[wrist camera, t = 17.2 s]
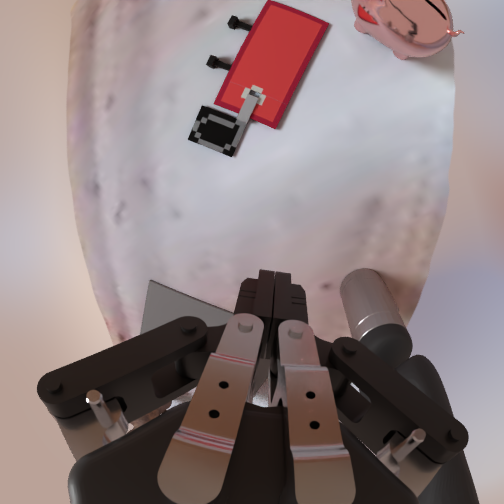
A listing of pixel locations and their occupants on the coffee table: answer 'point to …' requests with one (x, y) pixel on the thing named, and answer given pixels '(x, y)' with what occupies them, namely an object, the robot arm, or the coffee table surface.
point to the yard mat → (178, 305)
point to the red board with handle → (259, 74)
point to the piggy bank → (406, 25)
